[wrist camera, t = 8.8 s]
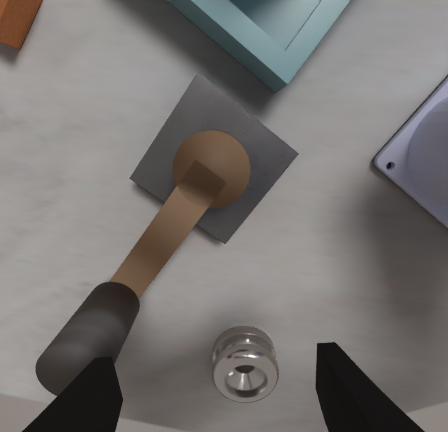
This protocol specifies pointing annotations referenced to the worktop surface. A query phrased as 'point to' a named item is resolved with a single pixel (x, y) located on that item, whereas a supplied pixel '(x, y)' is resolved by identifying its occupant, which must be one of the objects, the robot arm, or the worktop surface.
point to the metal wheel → (244, 364)
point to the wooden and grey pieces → (188, 135)
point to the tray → (265, 31)
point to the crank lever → (147, 256)
